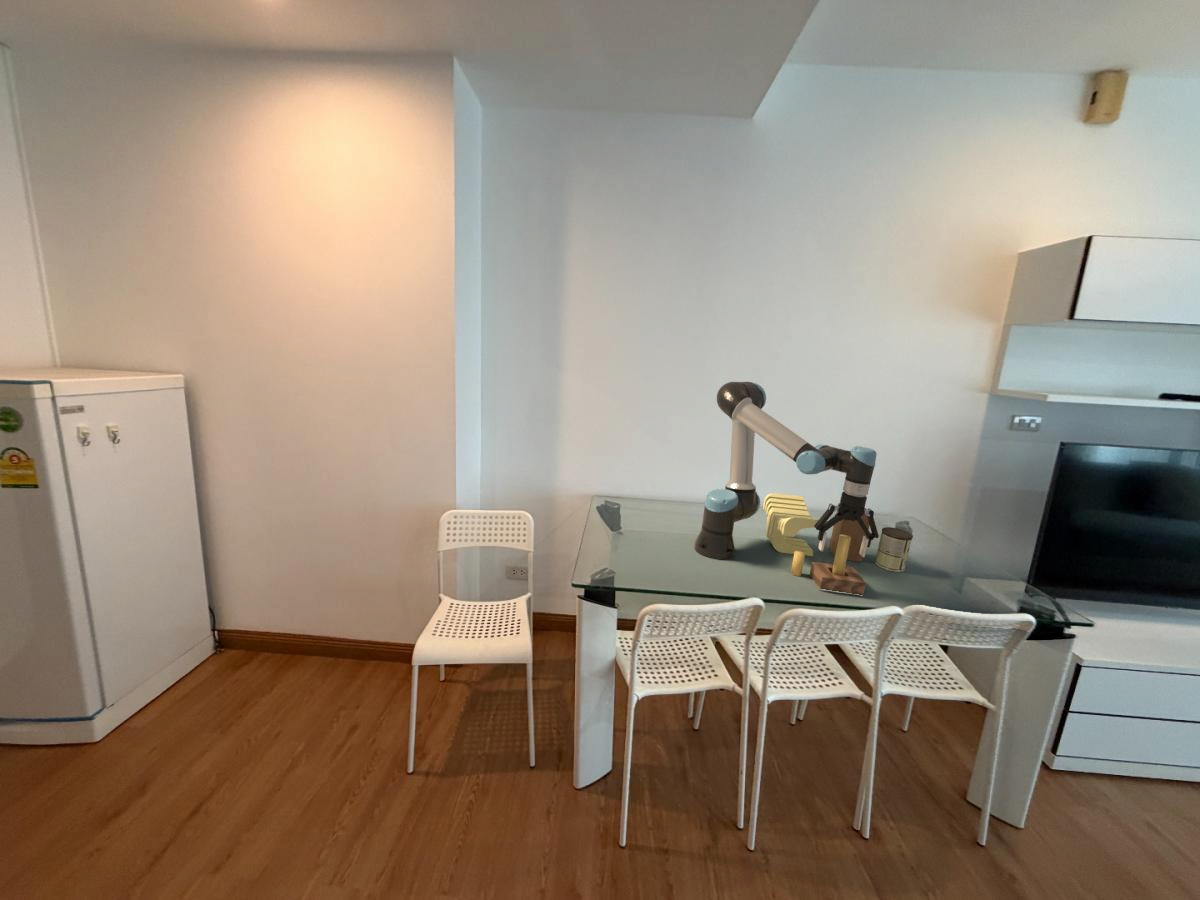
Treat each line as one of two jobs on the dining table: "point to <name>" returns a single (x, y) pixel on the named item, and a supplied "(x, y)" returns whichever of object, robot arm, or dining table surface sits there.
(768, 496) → the slatted curved stool
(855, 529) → the wooden block
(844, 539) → the long pin
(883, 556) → the coffee can
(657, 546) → the dining table surface
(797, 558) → the short pin
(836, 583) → the hole block
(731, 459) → the robot arm
